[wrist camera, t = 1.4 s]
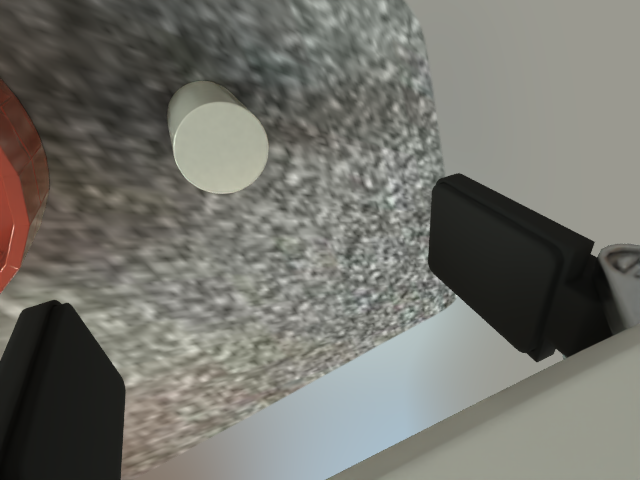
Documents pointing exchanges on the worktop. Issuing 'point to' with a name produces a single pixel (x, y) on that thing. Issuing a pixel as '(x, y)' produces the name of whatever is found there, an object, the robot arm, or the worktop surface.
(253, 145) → the pale grey cylinder
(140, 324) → the worktop surface
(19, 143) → the pan
